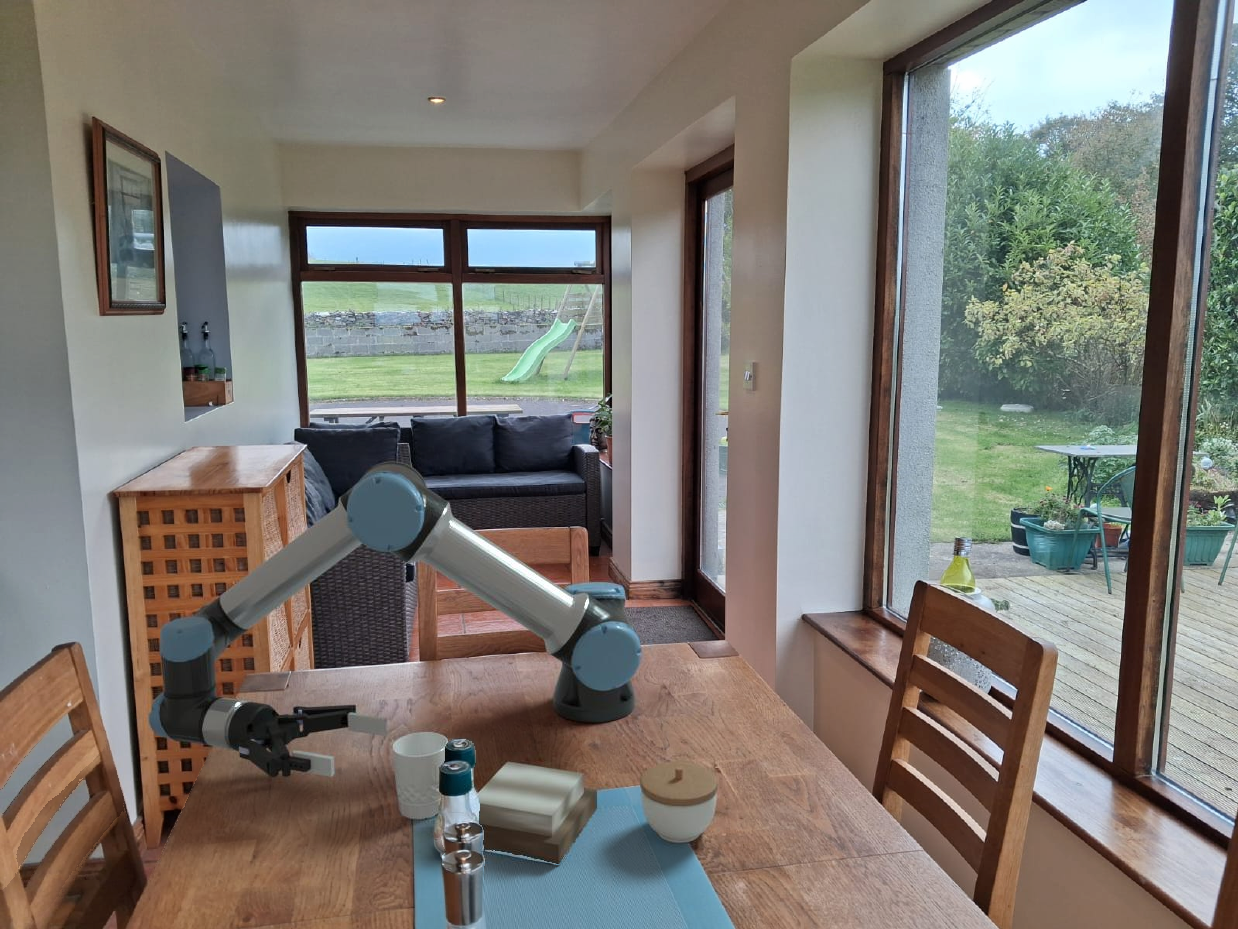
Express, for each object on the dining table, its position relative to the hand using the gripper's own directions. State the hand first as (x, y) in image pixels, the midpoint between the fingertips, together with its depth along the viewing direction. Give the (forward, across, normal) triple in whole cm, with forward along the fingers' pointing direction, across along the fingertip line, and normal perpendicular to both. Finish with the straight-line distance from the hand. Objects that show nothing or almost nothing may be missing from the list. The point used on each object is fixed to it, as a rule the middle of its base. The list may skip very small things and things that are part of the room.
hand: (360, 746), depth 137 cm
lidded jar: (+47, -6, -8) cm, 48 cm away
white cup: (+10, 0, -8) cm, 13 cm away
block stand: (+27, 0, -8) cm, 28 cm away
